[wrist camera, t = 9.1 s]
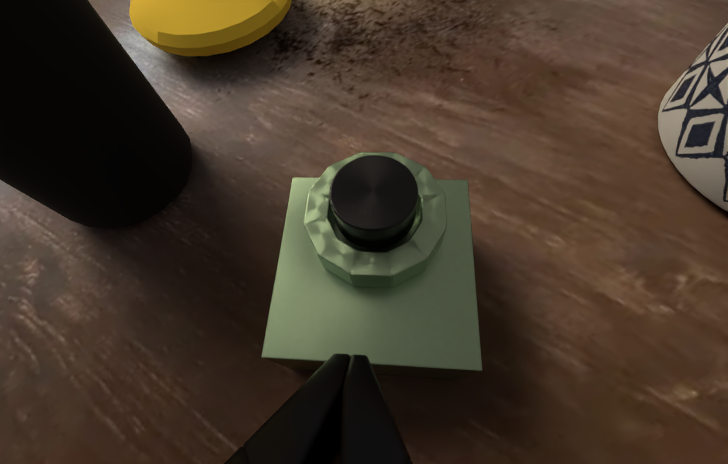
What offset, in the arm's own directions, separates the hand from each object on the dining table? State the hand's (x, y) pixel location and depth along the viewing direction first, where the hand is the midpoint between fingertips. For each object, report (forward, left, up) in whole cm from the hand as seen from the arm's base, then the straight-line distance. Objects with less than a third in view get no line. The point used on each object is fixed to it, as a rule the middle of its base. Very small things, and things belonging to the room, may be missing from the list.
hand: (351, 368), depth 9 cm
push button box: (+4, -4, -13) cm, 14 cm away
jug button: (+6, -5, -6) cm, 10 cm away
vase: (+36, -10, -13) cm, 40 cm away
